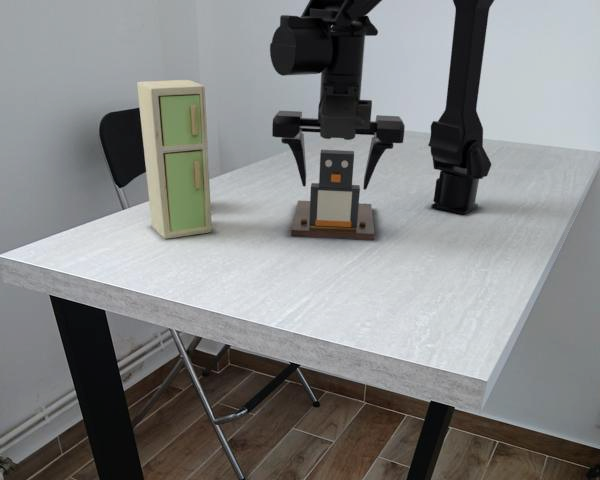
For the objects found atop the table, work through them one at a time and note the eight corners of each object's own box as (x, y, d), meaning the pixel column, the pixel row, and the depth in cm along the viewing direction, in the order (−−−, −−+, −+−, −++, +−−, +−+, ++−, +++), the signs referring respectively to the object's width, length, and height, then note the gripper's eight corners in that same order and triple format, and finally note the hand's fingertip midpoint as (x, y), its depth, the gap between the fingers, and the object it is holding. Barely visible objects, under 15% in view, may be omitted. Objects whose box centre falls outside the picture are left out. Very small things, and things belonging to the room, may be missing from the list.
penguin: (356, 223, 103) (356, 229, 100) (310, 220, 103) (309, 227, 101) (362, 151, 97) (362, 155, 94) (312, 149, 97) (311, 153, 95)
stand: (373, 240, 100) (374, 229, 99) (290, 236, 101) (291, 225, 100) (370, 209, 114) (371, 200, 113) (297, 206, 114) (298, 196, 114)
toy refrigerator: (164, 241, 97) (151, 88, 85) (150, 227, 102) (136, 81, 91) (214, 234, 100) (207, 86, 89) (197, 221, 106) (189, 79, 94)
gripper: (268, 76, 83) (267, 198, 91) (414, 83, 82) (399, 205, 90) (276, 67, 92) (275, 179, 100) (407, 73, 91) (394, 185, 100)
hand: (334, 187), depth 98 cm, fingers open, 9 cm apart
